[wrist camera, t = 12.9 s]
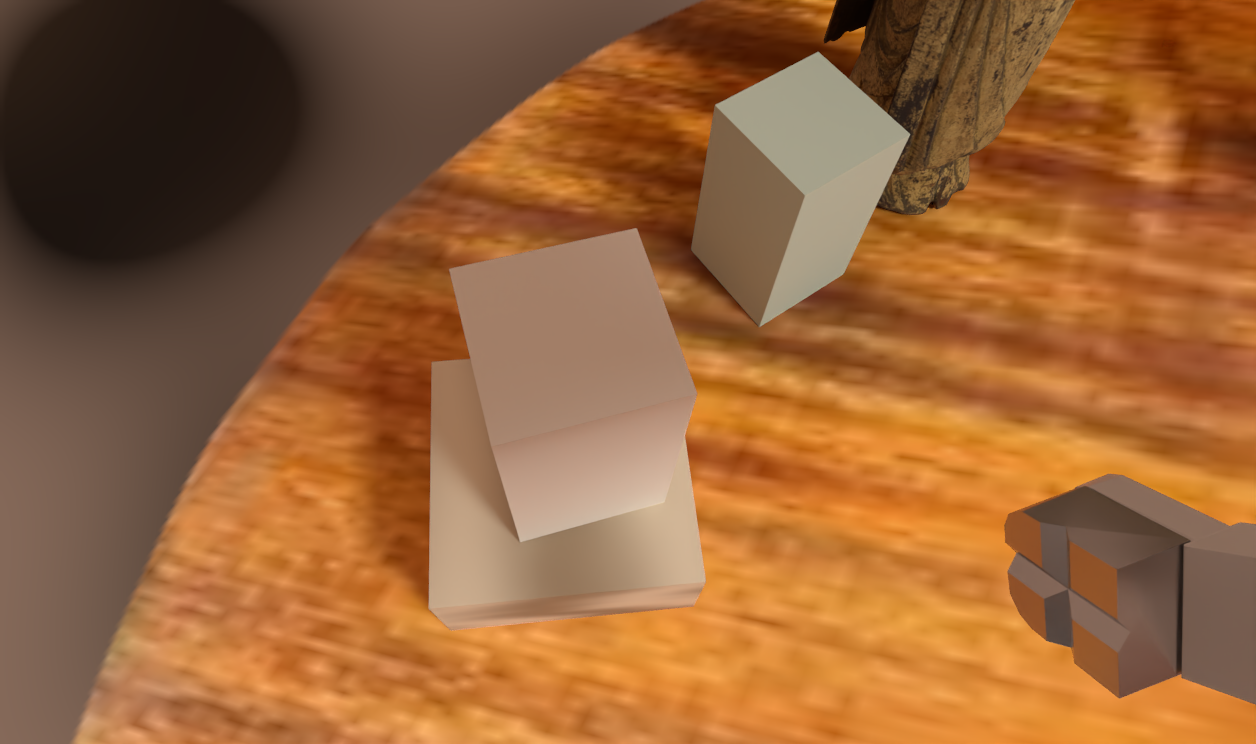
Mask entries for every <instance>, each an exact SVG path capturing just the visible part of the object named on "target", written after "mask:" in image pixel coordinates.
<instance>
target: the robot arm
mask: <svg viewBox="0 0 1256 744" xmlns="http://www.w3.org/2000/svg"><path fill="white" fill-rule="evenodd" d="M1004 526H1005V543H1007V544H1008V545H1009V546H1010V547H1011V548H1012V549H1013V550H1014V551H1015V552H1016V555H1015V557H1014V560H1013V562H1012V564H1011V566H1010V568H1009V570H1008V580H1009V588H1010V594H1011V596H1012V599H1013V601H1014V603H1015V605H1016V607H1017V609H1018V611H1019V613H1020V615H1021V616H1022V617H1023V619H1024V620H1025V621H1026V622H1027V624H1028V625H1029V626H1030V627H1031V628H1032V629H1033V630H1034V631H1035V632H1036V633H1038V634H1039V635H1040V636H1041V637H1043V638H1044V639H1045V640H1046V641H1049V642H1053V643H1056V644H1060V645H1064V646H1067V647H1071V649H1072V654H1073V658H1074V663H1075V664H1076V665H1077V666H1079V667H1080V668H1081V669H1083V670H1084V671H1085V672H1086V673H1088V674H1089V675H1090V676H1091V677H1093V678H1094V679H1095V680H1096V681H1098V682H1099V683H1100V684H1102V685H1103V686H1104V687H1105V688H1107V689H1108V690H1109V691H1110V692H1112V693H1113V694H1114V695H1115V696H1117V697H1118V698H1122V697H1124V696H1127V695H1129V694H1132V693H1134V692H1137V691H1139V690H1142V689H1144V688H1147V687H1149V686H1152V685H1155V684H1157V683H1160V682H1162V681H1165V680H1167V679H1170V678H1172V677H1175V676H1177V675H1180V674H1182V678H1184V679H1186V680H1189V681H1192V682H1195V683H1198V684H1200V685H1203V686H1206V687H1209V688H1211V689H1214V690H1217V691H1220V692H1223V693H1225V694H1228V695H1231V696H1234V697H1236V698H1239V699H1242V700H1245V701H1248V702H1250V703H1253V704H1256V524H1249V523H1241V522H1240V523H1238V524H1235V525H1232V526H1228V525H1226V524H1224V523H1222V522H1220V521H1218V520H1216V519H1214V518H1212V517H1209V516H1207V515H1205V514H1203V513H1201V512H1199V511H1197V510H1195V509H1193V508H1191V507H1188V506H1186V505H1184V504H1182V503H1180V502H1178V501H1176V500H1174V499H1172V498H1169V497H1167V496H1165V495H1163V494H1161V493H1159V492H1157V491H1155V490H1153V489H1151V488H1148V487H1146V486H1144V485H1142V484H1140V483H1138V482H1136V481H1134V480H1132V479H1130V478H1127V477H1125V476H1123V475H1116V474H1107V475H1104V476H1102V477H1099V478H1097V479H1095V480H1092V481H1090V482H1087V483H1085V484H1082V485H1080V486H1077V487H1076V488H1075V489H1073V490H1070V491H1067V492H1065V493H1062V494H1059V495H1057V496H1054V497H1052V498H1049V499H1046V500H1044V501H1041V502H1038V503H1036V504H1033V505H1031V506H1028V507H1025V508H1023V509H1020V510H1017V511H1015V512H1012V513H1010V514H1008V517H1007V520H1006V523H1005V525H1004Z"/></svg>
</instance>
